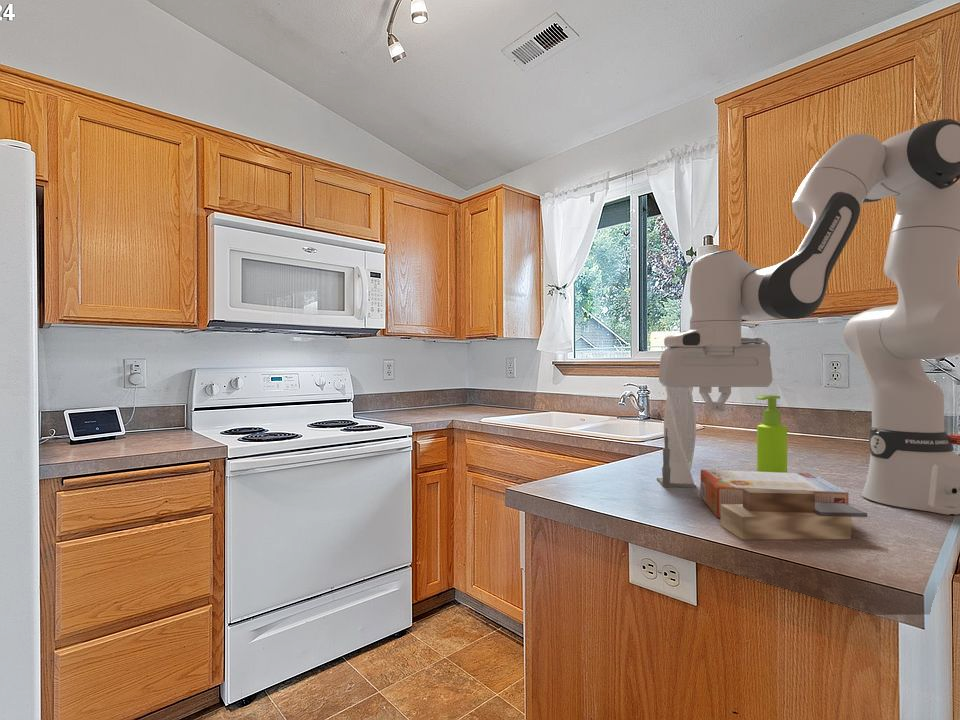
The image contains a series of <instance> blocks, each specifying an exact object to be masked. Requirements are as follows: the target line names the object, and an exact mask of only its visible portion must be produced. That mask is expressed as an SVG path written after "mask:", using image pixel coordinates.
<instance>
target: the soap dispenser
mask: <svg viewBox="0 0 960 720" xmlns="http://www.w3.org/2000/svg"><path fill="white" fill-rule="evenodd" d="M755 399H756V400H763V401H766V400H767V408H765V409H763V415H762V416H763V419H762V420H763V422H762V423H760V424H758V425H757V426H756V472H777V473H788V426H786V425H782V421H781V417H782V411H781V410H779V408H777V399H779V400H781V395H769V394H762V395H759V396H757V397H755Z"/></svg>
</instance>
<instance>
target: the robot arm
mask: <svg viewBox="0 0 960 720" xmlns="http://www.w3.org/2000/svg"><path fill="white" fill-rule="evenodd" d="M959 180H960V122H959V121H958V120H955V119H952V118H943V119H937V120H931V121H928V122H925V123H922V124H920V125H918V126H917V127H915V128H911V129H909V130H905V131H903V132H900V133H898V134H895V135H892V136H890V137H889V138H887V139H886V140H884V141H883V142H881V141H880V140H879V138H877V137H875V136H873V135H870V134H868V133H867V134H866V133H854V134H849V135H847V136H844V137H842V138H840V139H839V140H837V142H835V144H833V145H832V146H831V147H830V148H829V149H828V150H827V151H826V152H825V153H824V154H823V155H822V157H821V158H820V159H819V160H817V162H816V163H815V164H814V165H813V167H812V168H811V170H810V171H809V172H808V173H807V175H806V176H805V178H804V179H803V181H802V182H801V184H800V185H799V187H798V188H797V190H796V192H795V194H794V195H793V196H794V197H793V199H792V202H791V207H792V211H793V214H794V216H795V217H796V219H797V220H798V222H799V223H801V224H802V225H804V226H805V227H806V228H808V230H807V233H806V234H805V236H804V238H803V239H802V241H801V243H800V245H799V247H798V248H797V250H796V251H795V253H794V254H792V255H791V256H790V257H788V258H787V259H785V260H783V261H781V262H779V263H777V264H775V265H771V266H767V267H763V268H761V267H759V266H756V265H754V264H751V263H750V262H748V261H746V260H745V259H743V258H742V257H741V256H740V255H739V254H738V252H737V251H736V250H733V249H732V250H731V249H725V250H720V251H719V250H718V251H713V252H711V253H707V254H705V255H702V256H699V257H698V258H697V259H696V260H695V261H694V263H693V265H692V268H691V275H690V284H689V285H690V286H689V301H690V304H691V305H690V306H691V316H690V318H689V319H690V320H689V329H687V330H682V331H680V332H677V333H674V334H670V335H668V336H665V338H664V340H663V343H664V347H666V349H664V350H663V352H662V353H661V356H660V361H659V362H660V363H659V371H658V379H659V382H660V384H661V386H662V387H665V388H666V387H693V388H698V389H699V390H698V391H699V394H700V396H701V398H702V400H703V401H704V403H705V404H704V405H705V406H704V407H705V412H709V413H711V412H712V413H713V412H716V413H717V412H720V413H721V412H724V413H725V411H726V402H727V401H728V399H729V398H730V395H731V394H732V388H768V387H770V385H771V384H772V383H773V370H772V363H771V358H770V357H771V346H770V344H769V343H768V341H766V340H764V339H763V338H762V337H754V338H751V337H750V338H749V337H742V321H743V320H744V321H747V322H759V321H761V322H762V321H772V320H779V319H780V320H799V319H803V318H806V317H808V316H811V315H812V314H813V313H815V311H817V310H818V309H819V307H820V306H821V304H822V302H823V301H824V299H825V296H826V292H827V289H828V285H829V284H828V283H829V280H830V276H831V273H832V271H833V269H834V267H835V265H836V264H837V261H838V259H839V257H840V256H841V254H842V252H843V251H844V248H845V247H846V245H847V243H848V241H849V239H850V237H851V236H852V233H853V231H854V230H855V227H856V225H857V224H858V221H859V218H860V215H861V206H862V204H863V203H873V202H879V201H881V200H883V199H886V198H887V199H888V198H893V197H894V200H895V201H894V202H895V204H896V212H895V216H894V219H893V223H892V226H891V231H890V233H889V238H888V239H889V240H888V244H887V250H886V256H885V260H884V265H883V273H884V275H885V277H886V278H887V279H889V280H890V281H891V282H893V283H894V284H895V285H896V288H897V289H896V290H897V296H898V298H897V299H898V300H897V302H896V304H893V305H884V306H876V307H873V308H869V309H867V310H864V311H861V312H860V313H857V314H855V315H853V316H852V317H851V318H850V319H849V320H848V321H847V322H846V324H845V327H844V331H843V337H844V339H843V340H844V342H845V344H846V346H847V348H848V349H849V350H850V351H851V352H852V353H854V355H855V356H856V357H857V358H858V359H859V361H860V362H861V363H860V364H861V365H862V366H863V369H864V372H865V374H866V378H867V380H868V384H869V389H870V390H869V391H870V398H871V399H870V401H871V402H870V403H871V404H870V405H871V426H870V427H869V428H868V445H869V450H870V456H869V457H870V458H869V463H868V464H869V465H868V471H867V476H866V479H865V480H866V481H865V484H864V487H863V488H862V489H863V490H862V493H861V496H862V497H863V498H865V499H867V500H870V501H873V502H875V503H879V504H883V505H888V506H894V507H898V508H904V509H911V510H919V511H925V512H926V511H927V512H932V513H937V514H942V515H949V516H951V515H950V514H954V515H960V455H958V454H957V453H956V452H955V451H954V450H955V449H954V447H953V445H958V446H960V434H957V433H952V434H950V435H949V434H948V433H947V432H946V431H945V396H944V395H945V394H944V391H943V389H942V388H941V387H940V386H939V385H938V384H937V383H935V382H933V381H932V379H930V377H929V376H928V375H927V373H926V371H925V370H924V367H923V364H922V361H921V360H927V359H928V360H931V359H932V360H935V359H936V360H939V359H945V358H949V357H954V356H959V355H960V286H959V280H958V268H959V267H958V266H959V261H960V260H959V258H960V183H959V182H958V181H959ZM712 388H718V393H720V396H719V397H718V398H717V400H716V401H714V400H712V398H711V397H712V396H711V395H710V394H712Z"/></svg>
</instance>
